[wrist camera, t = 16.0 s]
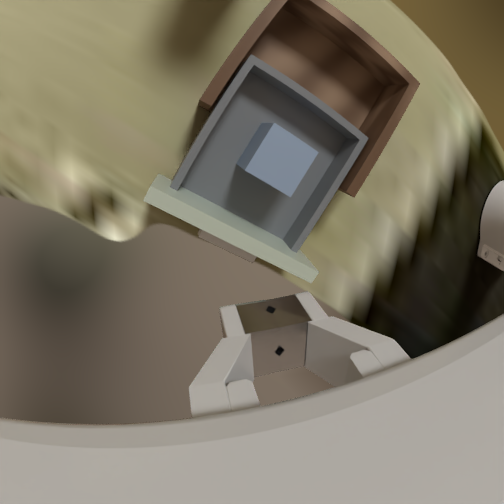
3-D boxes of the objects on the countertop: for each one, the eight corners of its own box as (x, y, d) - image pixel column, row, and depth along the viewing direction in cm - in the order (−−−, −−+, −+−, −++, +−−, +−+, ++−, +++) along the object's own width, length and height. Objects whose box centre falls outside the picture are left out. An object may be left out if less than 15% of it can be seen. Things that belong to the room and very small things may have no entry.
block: (300, 147, 31) (318, 152, 27) (275, 186, 32) (290, 197, 28) (261, 123, 29) (274, 122, 25) (236, 163, 31) (244, 170, 26)
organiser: (390, 85, 32) (420, 83, 26) (330, 185, 36) (354, 197, 30) (274, -2, 25) (290, -23, 20) (197, 104, 29) (199, 99, 24)
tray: (361, 143, 33) (395, 150, 27) (285, 263, 37) (304, 292, 31) (230, 54, 27) (242, 36, 20) (147, 195, 31) (137, 213, 24)
